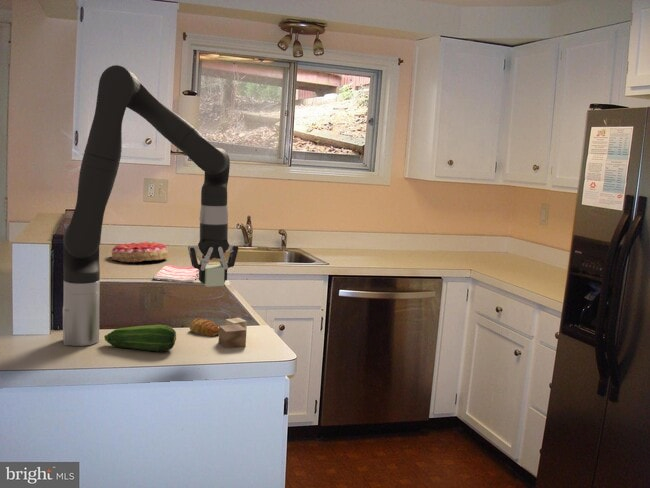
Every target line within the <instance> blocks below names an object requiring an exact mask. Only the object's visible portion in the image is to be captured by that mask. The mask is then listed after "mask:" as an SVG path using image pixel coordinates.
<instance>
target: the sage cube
mask: <svg viewBox="0 0 650 488" xmlns="http://www.w3.org/2000/svg"><path fill="white" fill-rule="evenodd" d="M202 285H204V286H205V287H206V288H209V287H224V286H225V283H224V267H222V266H221V264H207V265H206V267H205V284H202Z"/></svg>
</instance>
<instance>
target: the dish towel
mask: <svg viewBox="0 0 650 488" xmlns="http://www.w3.org/2000/svg"><path fill="white" fill-rule="evenodd" d="M198 275H199V269H196V268H194V267H193V266H188V267H186V266H175V265H172V264H165V265H164V266H163V267H162V268H161V269H160V270H158V271H157V273H155V274H154V275H153V276H152V280H153V279H160V280H172V281H171V282H174V281H182V282H181V283H193V282H194V280H195V279H196V277H197V276H198ZM198 277H199V276H198ZM196 280H197V279H196ZM196 280H195V281H196ZM194 283H195V282H194Z"/></svg>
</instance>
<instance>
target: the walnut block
mask: <svg viewBox="0 0 650 488" xmlns="http://www.w3.org/2000/svg"><path fill="white" fill-rule="evenodd" d="M218 327H219V334H218V343H219V344H220V345H221V346H222V347H223V349H225V350H226V349H235V348H236V349H237V348H246V347H247V345H246V343H247V330H246V329H244V328H243V327H242V326H241V325H239V324H238V325H226V324H225V325H224V324H223V325H218Z"/></svg>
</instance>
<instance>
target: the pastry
mask: <svg viewBox="0 0 650 488" xmlns="http://www.w3.org/2000/svg"><path fill="white" fill-rule="evenodd" d="M189 330H190V331H191V333H195V334H197V335H201V336H207V337H211V336H212V337H214V336H216V335H219V325H217V323H215V322H212V320H208V319H203V318H199V317H198V318H195V319H194V320H192V321H191V323H190V325H189Z"/></svg>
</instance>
